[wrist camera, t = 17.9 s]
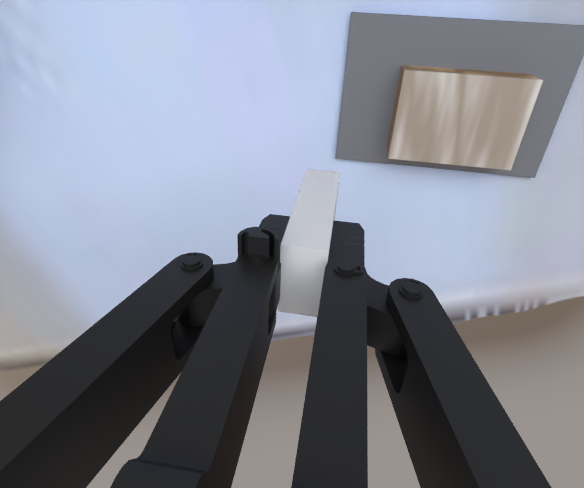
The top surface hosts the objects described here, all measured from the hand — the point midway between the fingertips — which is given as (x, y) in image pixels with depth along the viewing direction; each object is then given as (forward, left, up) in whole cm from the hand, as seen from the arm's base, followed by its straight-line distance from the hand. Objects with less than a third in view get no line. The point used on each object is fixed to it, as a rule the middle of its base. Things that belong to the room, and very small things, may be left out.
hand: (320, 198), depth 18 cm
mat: (+9, +1, -20) cm, 22 cm away
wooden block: (+5, 0, -18) cm, 19 cm away
